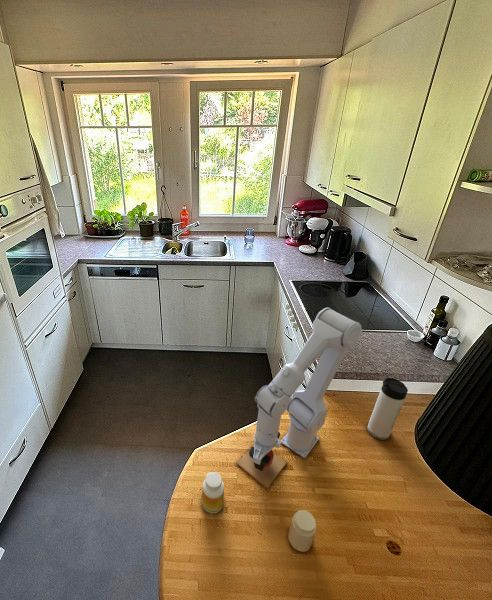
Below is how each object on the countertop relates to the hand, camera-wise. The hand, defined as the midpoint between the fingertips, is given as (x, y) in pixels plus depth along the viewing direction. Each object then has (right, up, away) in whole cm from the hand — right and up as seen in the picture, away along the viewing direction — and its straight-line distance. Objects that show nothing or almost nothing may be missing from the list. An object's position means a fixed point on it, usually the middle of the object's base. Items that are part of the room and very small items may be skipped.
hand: (262, 459), depth 91 cm
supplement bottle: (-15, -7, -8) cm, 18 cm away
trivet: (0, -2, +1) cm, 2 cm away
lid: (0, +2, -1) cm, 2 cm away
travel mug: (+39, +3, +11) cm, 40 cm away
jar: (+5, -11, -16) cm, 20 cm away
